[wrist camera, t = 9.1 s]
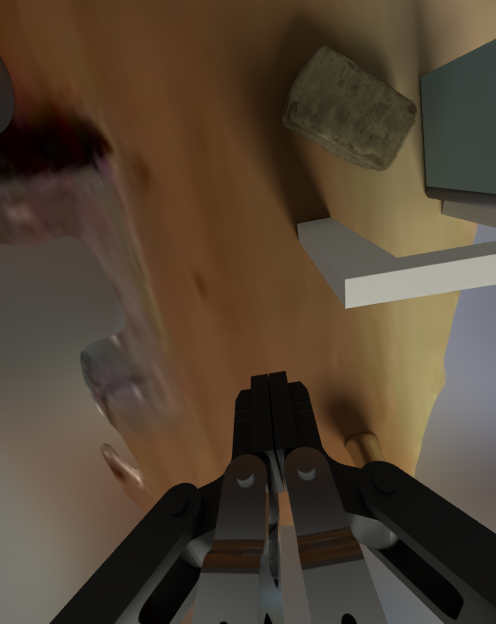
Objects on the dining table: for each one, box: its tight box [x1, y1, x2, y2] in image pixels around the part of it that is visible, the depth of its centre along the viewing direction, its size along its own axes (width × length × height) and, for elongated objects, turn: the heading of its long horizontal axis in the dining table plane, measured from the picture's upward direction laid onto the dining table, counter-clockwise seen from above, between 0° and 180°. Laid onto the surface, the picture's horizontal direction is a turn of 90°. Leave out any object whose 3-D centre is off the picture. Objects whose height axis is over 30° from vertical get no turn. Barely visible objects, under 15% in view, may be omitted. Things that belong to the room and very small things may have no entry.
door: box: [420, 39, 496, 210], centre depth 22 cm, size 12×1×14 cm, turn 20°
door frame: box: [297, 201, 496, 308], centre depth 24 cm, size 18×2×18 cm, turn 100°
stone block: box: [282, 45, 417, 171], centre depth 26 cm, size 6×12×5 cm, turn 67°
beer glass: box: [346, 433, 386, 468], centre depth 45 cm, size 7×7×15 cm
